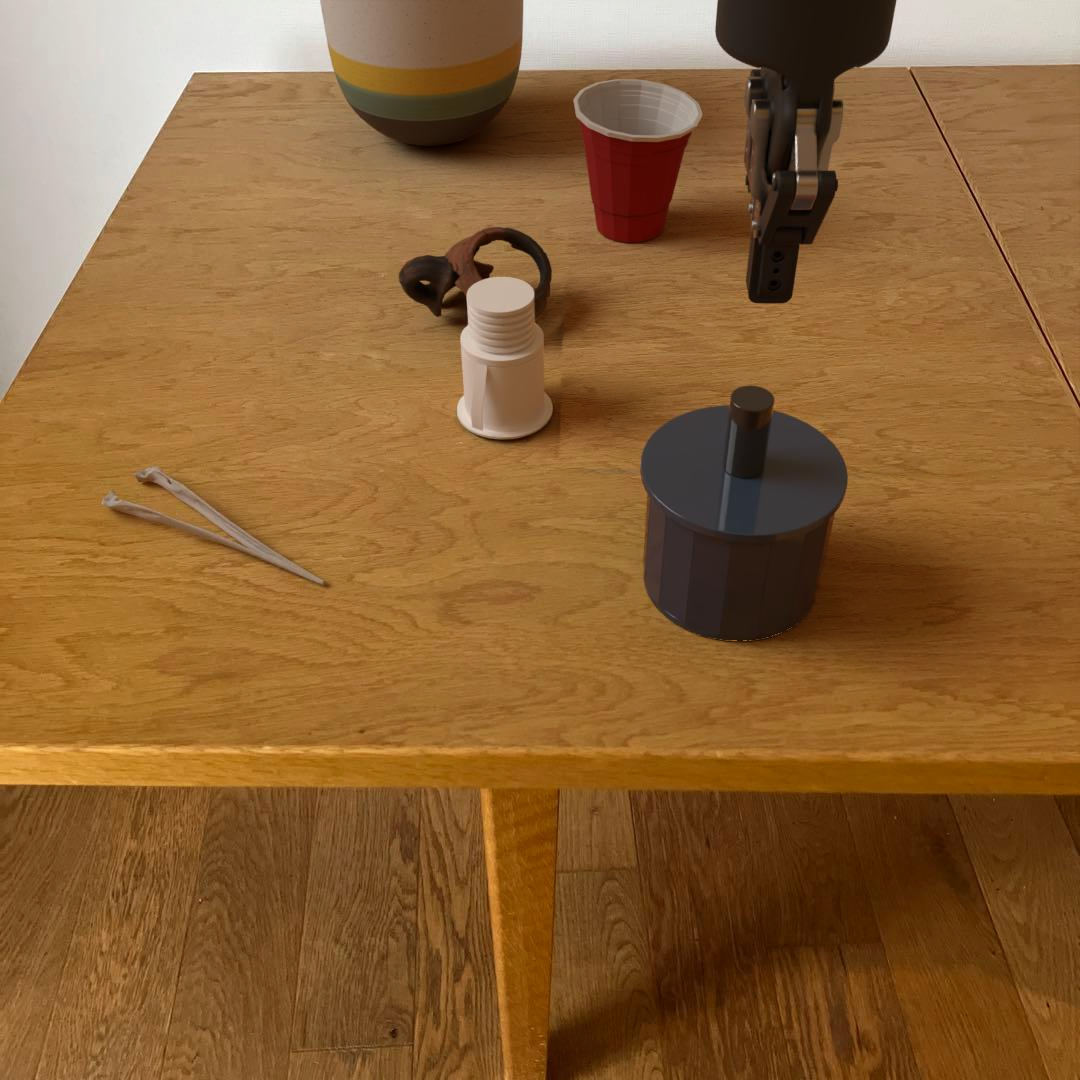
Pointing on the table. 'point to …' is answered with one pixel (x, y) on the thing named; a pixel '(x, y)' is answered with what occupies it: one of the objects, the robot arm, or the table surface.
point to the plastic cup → (634, 152)
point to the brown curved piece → (469, 269)
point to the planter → (425, 63)
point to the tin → (731, 578)
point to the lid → (744, 471)
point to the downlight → (502, 362)
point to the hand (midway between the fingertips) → (767, 295)
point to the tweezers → (209, 512)
